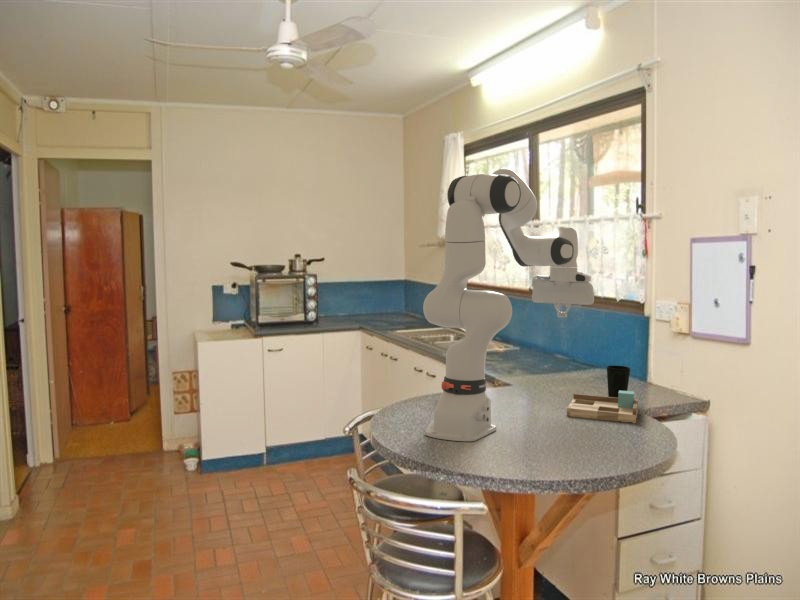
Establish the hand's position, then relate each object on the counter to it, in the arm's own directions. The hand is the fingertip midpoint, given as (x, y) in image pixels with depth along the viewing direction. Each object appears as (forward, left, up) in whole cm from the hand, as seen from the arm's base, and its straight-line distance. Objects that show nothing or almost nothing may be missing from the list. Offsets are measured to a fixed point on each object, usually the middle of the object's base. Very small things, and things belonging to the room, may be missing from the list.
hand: (562, 317), depth 210 cm
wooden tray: (-10, -15, -29) cm, 34 cm away
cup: (+11, -18, -29) cm, 36 cm away
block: (-7, -22, -27) cm, 35 cm away
